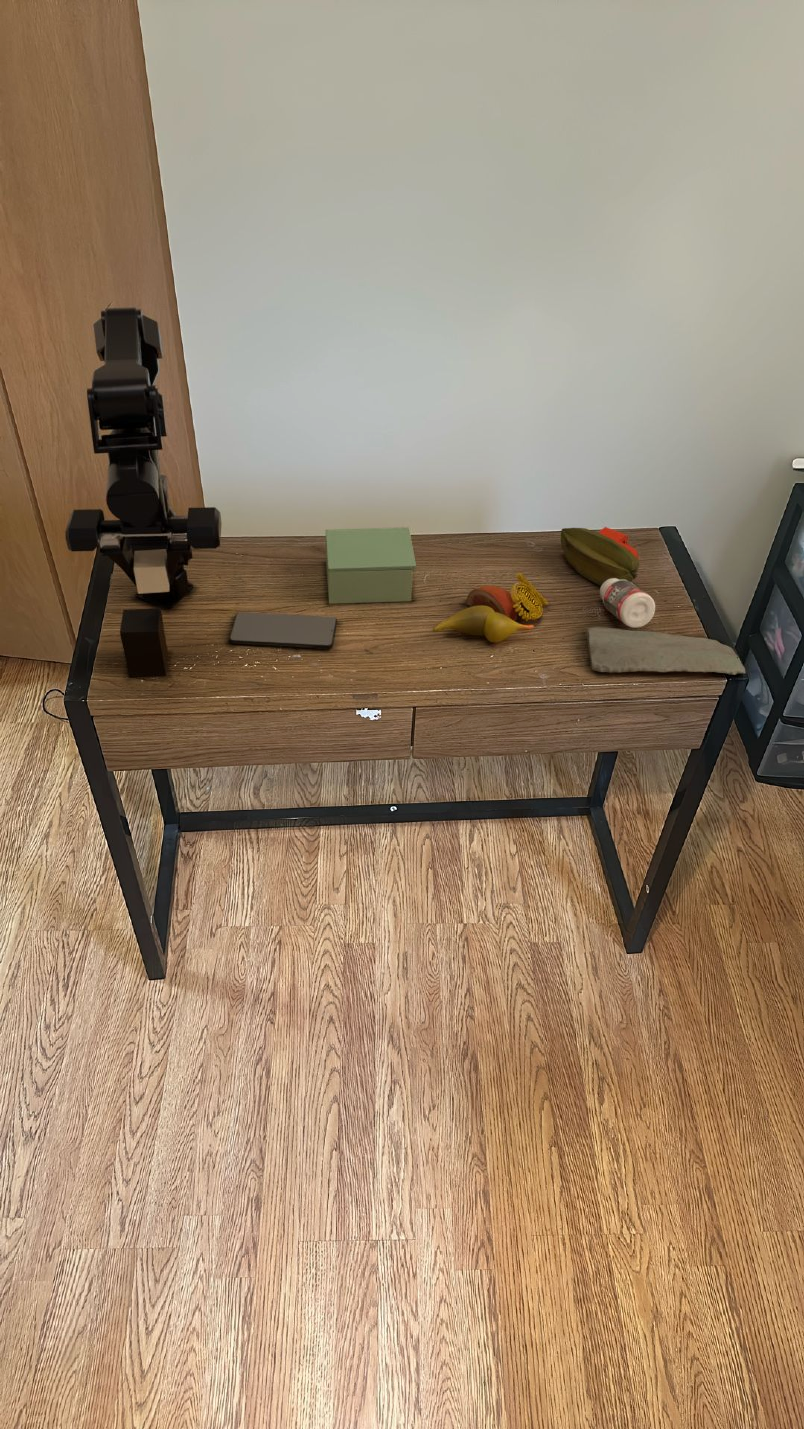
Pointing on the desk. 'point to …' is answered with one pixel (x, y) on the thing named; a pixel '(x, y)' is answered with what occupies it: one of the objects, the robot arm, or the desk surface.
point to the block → (151, 571)
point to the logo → (527, 599)
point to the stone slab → (658, 652)
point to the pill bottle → (627, 602)
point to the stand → (144, 642)
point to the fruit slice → (493, 600)
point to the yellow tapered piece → (482, 623)
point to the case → (369, 585)
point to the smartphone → (283, 630)
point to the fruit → (597, 556)
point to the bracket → (618, 539)
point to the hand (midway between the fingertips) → (154, 583)
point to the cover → (369, 549)
